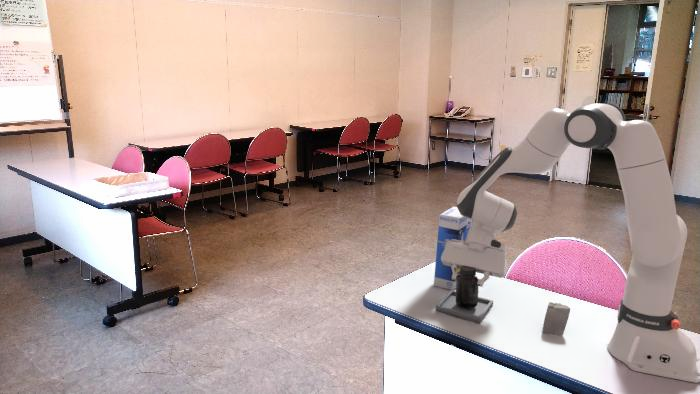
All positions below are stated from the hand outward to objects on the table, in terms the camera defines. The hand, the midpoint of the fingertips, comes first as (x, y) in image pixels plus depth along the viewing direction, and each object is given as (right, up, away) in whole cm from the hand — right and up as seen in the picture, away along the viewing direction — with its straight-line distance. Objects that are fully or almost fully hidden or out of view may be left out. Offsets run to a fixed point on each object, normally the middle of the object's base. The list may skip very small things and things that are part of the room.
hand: (466, 282), depth 162 cm
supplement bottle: (0, -7, +2) cm, 8 cm away
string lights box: (-1, -4, +22) cm, 23 cm away
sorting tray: (0, -9, +3) cm, 9 cm away
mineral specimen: (+23, -13, -8) cm, 28 cm away
